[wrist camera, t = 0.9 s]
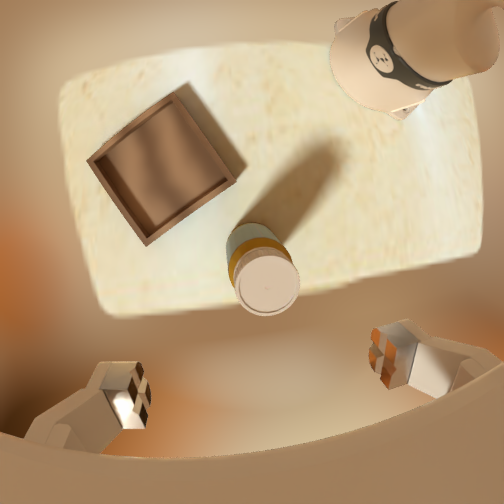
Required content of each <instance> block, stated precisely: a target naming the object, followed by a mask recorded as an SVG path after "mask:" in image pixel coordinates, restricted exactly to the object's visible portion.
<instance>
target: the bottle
mask: <svg viewBox="0 0 504 504" xmlns="http://www.w3.org/2000/svg"><path fill="white" fill-rule="evenodd" d="M226 253H227V263H228V273H229V278H230V281H231V283H232V285H233V287H234V288H235V293H236V296H237V299H238V301H239V302H240V304H241V305H242V306H243V307H244V308H245V309H246V310H248V311H249V312H251V313H253V314H256V315H260V316H271V315H275V314H278V313H281V312H283V311H284V310H286V309H287V308H288V307H290V306H291V304H292V303H293V302H294V301H295V299H296V297H297V295H298V293H299V289H300V279H299V275H298V272H297V269H296V268H295V266H294V265H293V263H292V259H291V256H290V254H289V253H288V251H287V250H286V248H285V247H284V246H283V245H282V243H281V242H280V241H279V240H278V239H277V238H276V236H275V235H274V234H273V233H272V232H271V231H270V230H269V229H268V228H267V227H265V226H264V225H262V224H258V223H245V224H242V225H240V226H238V227H237V228H236V229H234V230H233V231H232V233H231V234H230V236H229V237H228V240H227V244H226Z"/></svg>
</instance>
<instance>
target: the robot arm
mask: <svg viewBox="0 0 504 504" xmlns="http://www.w3.org/2000/svg"><path fill="white" fill-rule="evenodd" d="M496 6H498V7H501V8H502V9H504V0H400V1H395V2H392V3H390V4H389V5H386V6H384V7H383V8H382V9H380V10H378V9H372V10H371V11H367V10H366V11H363V12H362V13H360V14H359V15H358V16H356V17H352V18H343V19H339V20H338V21H336V22H335V39H334V41H333V44H332V46H331V50H330V64H331V69H332V72H333V74H334V76H335V78H336V80H337V82H338V84H339V85H340V86H341V88H342V89H343V90H344V91H345V93H346V94H347V95H348V96H350V97H351V98H352V99H353V100H354V101H356V102H357V103H359V104H361V105H362V106H364V107H367V108H369V109H373V110H378V111H382V112H385V113H387V114H388V115H390V116H391V117H393V118H394V119H396V120H403V119H405V118H406V117H407V116H408V115H409V114H410V113H411V112H412V111H413V110H414V109H415V108H416V107H417V106H418V105H419V104H420V103H423V102H425V98H426V97H427V96H428V95H429V94H430V93H431V92H432V90H433V89H437V88H440V87H442V86H444V85H447V84H449V83H450V82H451V81H452V80H453V79H456V78H460V77H464V76H468V75H472V74H477V73H481V72H485V71H487V70H488V69H490V68H491V67H492V66H493V65H494V63H495V62H496V60H497V58H498V55H499V49H500V42H499V34H498V29H497V25H496V22H495V19H494V16H493V12H492V7H496ZM403 109H404V110H403ZM371 340H372V341H373V344H372V346H371V347H370V348H369V363H370V365H371V368H372V369H373V370H374V372H376V373H378V374H381V377H380V380H381V381H382V382H383V384H384V385H385V386H386V388H387V389H388V390H390V389H393V388H396V387H399V386H402V385H405V384H408V385H410V386H412V387H414V388H416V389H418V390H420V391H422V392H424V393H426V394H428V395H430V396H432V397H435V398H437V399H435V400H433V401H431V402H428V403H426V404H424V405H422V406H419V407H417V408H415V409H412V410H410V411H408V412H405V413H403V414H400V415H397V416H395V417H392V418H390V419H387V420H384V421H381V422H378V423H375V424H373V425H370V426H366V427H363V428H360V429H357V430H354V431H350V432H347V433H343V434H340V435H336V436H332V437H328V438H325V439H320V440H317V441H312V442H308V443H303V444H298V445H293V446H288V447H283V448H278V449H271V450H265V451H259V452H251V453H243V454H234V455H225V456H212V457H193V458H145V457H128V456H115V455H105V454H100V453H101V452H102V451H103V450H104V448H106V447H107V446H108V445H109V444H110V442H111V441H112V440H113V439H114V438H115V437H116V436H117V435H118V434H119V433H120V432H121V431H122V429H145V428H146V423H147V418H148V414H147V412H146V409H147V408H149V407H150V404H151V391H150V386H149V383H148V381H147V380H146V379H144V378H143V374H144V370H143V367H142V364H141V363H140V362H138V361H137V362H136V361H135V362H100V363H98V365H97V367H96V369H95V371H94V373H93V374H92V377H91V378H90V380H89V382H88V384H87V386H86V388H85V389H80V390H79V391H77V392H76V393H74V394H73V395H71V396H70V397H68V398H66V399H65V400H63V401H62V402H60V403H58V404H57V405H56V406H54V407H52V408H51V409H49V410H47V411H46V412H44V413H43V414H41V415H39V416H38V417H36V418H35V419H34V421H33V423H32V425H31V426H30V428H29V430H28V432H27V434H26V435H25V438H24V439H21V438H18V437H14V436H11V435H8V434H4V433H1V432H0V504H504V362H502V361H501V360H500V359H498V358H497V357H496V356H495V355H493V354H492V353H491V352H490V351H488V350H487V349H485V348H481V347H476V346H472V345H468V344H464V343H459V342H455V341H451V340H447V339H443V338H439V337H431V336H429V335H428V334H427V333H426V332H425V331H424V330H422V329H421V328H420V327H418V326H417V325H416V324H415V323H414V322H413V321H411V320H410V319H404V320H401V321H398V322H396V323H392V324H389V325H385V326H381V327H377V328H373V330H372V332H371Z"/></svg>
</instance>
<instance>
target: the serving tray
mask: <svg viewBox="0 0 504 504" xmlns="http://www.w3.org/2000/svg"><path fill="white" fill-rule="evenodd" d="M86 161H87V163H88V164H89V166H90V167H91V169H92V170H93V172H94V174H95V175H96V177H97V178H98V180H99V181H100V183H101V184H102V186H103V187H104V189H105V190H106V192H107V193H108V195H109V196H110V197H111V199H112V200H113V202H114V203H115V205H116V206H117V208H118V209H119V210H120V212H121V213H122V215H123V216H124V218H125V219H126V220H127V222H128V223H129V225H130V226H131V227H132V229H133V230H134V231H135V233H136V234H137V236H138V237H139V238H140V240H141V241H142V242H143V244H144V245H145V246H146V247H147V246H148V245H149V244H151V243H152V242H153V241H155V240H156V239H157V238H159V237H160V236H161V235H163V234H164V233H165V232H167V231H168V230H169V229H171V228H172V227H173V226H175V225H176V224H177V223H179V222H180V221H182V220H183V219H184V218H186V217H187V216H188V215H190V214H191V213H193V212H194V211H195V210H197V209H198V208H200V207H201V206H203V205H204V204H205V203H207V202H208V201H210V200H211V199H213V198H214V197H215V196H217V195H218V194H220V193H221V192H223V191H224V190H226V189H227V188H229V187H230V186H231V185H233V184H234V183H236V180H235V179H234V177H233V176H232V174H231V173H230V171H229V170H228V168H227V167H226V165H225V164H224V163H223V161H222V160H221V158H220V157H219V155H218V154H217V152H216V151H215V150H214V148H213V147H212V145H211V144H210V142H209V141H208V140H207V138H206V137H205V135H204V134H203V132H202V131H201V130H200V128H199V127H198V125H197V124H196V123H195V121H194V120H193V118H192V117H191V116H190V114H189V113H188V111H187V110H186V109H185V107H184V106H183V104H182V103H181V102H180V100H179V99H178V97H177V96H176V95H175V93H174V92H172V93H171V94H170V95H168V96H167V97H165V98H164V99H162V100H161V101H159V102H158V103H157V104H155V105H154V106H152V107H151V108H150V109H148V110H147V111H146V112H144V113H143V114H142V115H140V116H139V117H138V118H136V119H135V120H134V121H132V122H131V123H130V124H129V125H127V126H126V127H125V128H124V129H122V130H121V131H120V132H119V133H117V134H116V135H115V136H114V137H113V138H111V139H110V140H109V141H108V142H107V143H105V144H104V145H103V146H102V147H101V148H100V149H99V150H97V151H96V152H95V153H94V154H93V155H92V156H91V157H90V158H89V159H87V160H86Z"/></svg>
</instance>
